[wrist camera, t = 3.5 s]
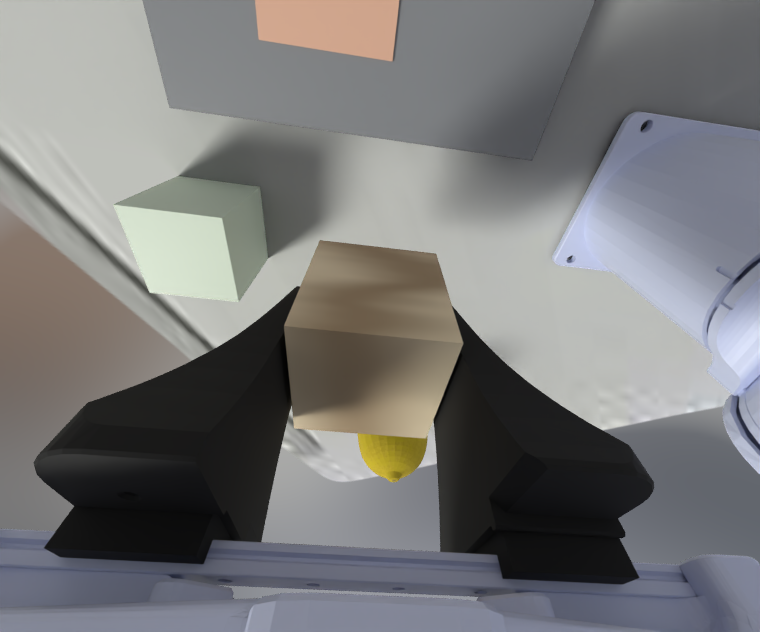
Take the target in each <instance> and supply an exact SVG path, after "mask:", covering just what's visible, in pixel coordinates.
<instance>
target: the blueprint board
mask: <svg viewBox="0 0 760 632" xmlns="http://www.w3.org/2000/svg"><path fill="white" fill-rule="evenodd" d="M594 2H595V0H143V4H144V8H145V12H146V16H147V20H148V24H149V28H150V32H151V36H152V40H153V44H154V48H155V52H156V56H157V60H158V64H159V68H160V72H161V76H162V80H163V84H164V88H165V92H166V96H167V100H168V104H169V108H174V109H181V110H188V111H195V112H202V113H208V114H215V115H222V116H229V117H236V118H243V119H250V120H257V121H263V122H270V123H277V124H284V125H291V126H298V127H305V128H312V129H318V130H325V131H332V132H339V133H346V134H353V135H360V136H367V137H373V138H380V139H387V140H394V141H401V142H408V143H415V144H422V145H428V146H435V147H442V148H449V149H456V150H463V151H470V152H477V153H483V154H490V155H497V156H504V157H511V158H518V159H525V160H533V157H534V155H535V152H536V150H537V147H538V144H539V142H540V139H541V137H542V134H543V132H544V129H545V127H546V124H547V122H548V119H549V116H550V114H551V111H552V109H553V106H554V104H555V101H556V99H557V96H558V94H559V91H560V88H561V86H562V83H563V81H564V78H565V76H566V73H567V71H568V68H569V66H570V63H571V60H572V58H573V55H574V53H575V50H576V48H577V45H578V43H579V40H580V38H581V35H582V32H583V30H584V27H585V25H586V22H587V20H588V17H589V15H590V12H591V10H592V7H593V4H594Z"/></svg>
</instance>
